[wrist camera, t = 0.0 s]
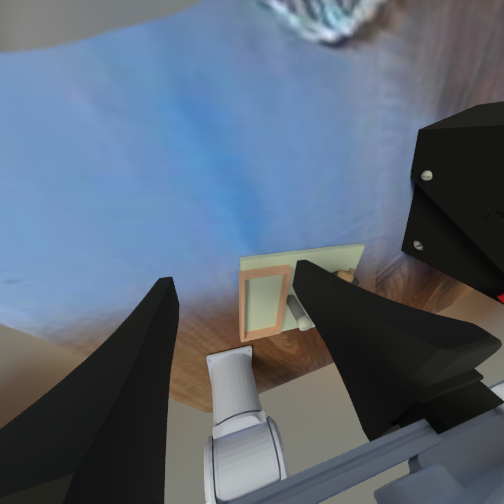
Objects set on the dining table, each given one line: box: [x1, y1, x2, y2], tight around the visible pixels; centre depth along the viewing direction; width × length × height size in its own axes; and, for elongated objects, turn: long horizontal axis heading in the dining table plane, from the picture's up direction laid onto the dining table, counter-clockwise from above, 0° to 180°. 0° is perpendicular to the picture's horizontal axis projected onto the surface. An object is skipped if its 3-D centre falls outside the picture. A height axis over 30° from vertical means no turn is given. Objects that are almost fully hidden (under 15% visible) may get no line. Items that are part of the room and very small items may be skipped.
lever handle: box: [296, 315, 315, 331], centre depth 24 cm, size 2×11×1 cm, turn 88°
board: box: [239, 243, 365, 342], centre depth 26 cm, size 16×18×5 cm
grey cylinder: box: [333, 270, 359, 286], centre depth 27 cm, size 10×4×4 cm, turn 178°
